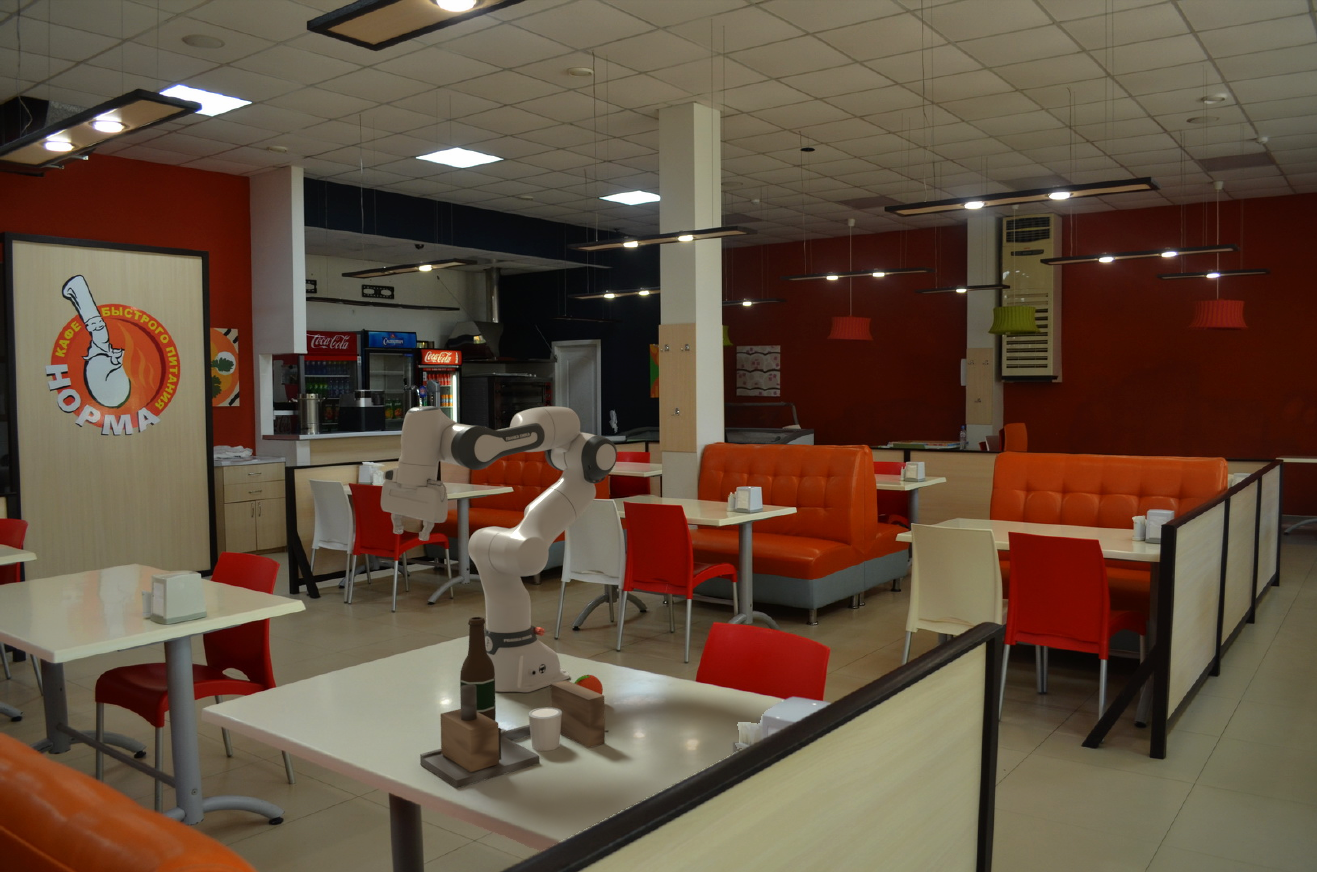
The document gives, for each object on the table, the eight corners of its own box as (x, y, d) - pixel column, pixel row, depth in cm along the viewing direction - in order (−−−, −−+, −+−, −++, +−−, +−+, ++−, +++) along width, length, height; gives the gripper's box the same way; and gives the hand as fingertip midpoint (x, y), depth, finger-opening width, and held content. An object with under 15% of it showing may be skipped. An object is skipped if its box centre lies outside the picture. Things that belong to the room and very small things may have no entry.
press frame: (564, 723, 208) (563, 679, 207) (604, 743, 196) (604, 695, 196) (420, 764, 186) (419, 714, 185) (456, 788, 174) (455, 734, 174)
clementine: (581, 712, 215) (580, 682, 214) (563, 705, 220) (563, 675, 220) (609, 705, 220) (608, 674, 220) (590, 697, 225) (590, 668, 225)
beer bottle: (466, 735, 201) (464, 624, 200) (456, 724, 208) (454, 616, 207) (501, 729, 205) (499, 619, 204) (490, 718, 212) (488, 612, 210)
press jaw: (472, 745, 191) (470, 675, 190) (502, 762, 182) (501, 689, 181) (441, 753, 186) (439, 682, 186) (471, 772, 177) (469, 697, 177)
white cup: (529, 740, 198) (529, 707, 198) (562, 738, 199) (562, 706, 198) (528, 752, 191) (527, 718, 191) (562, 751, 192) (561, 717, 192)
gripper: (457, 482, 211) (451, 543, 211) (401, 471, 224) (395, 529, 224) (434, 481, 206) (428, 544, 206) (378, 471, 219) (372, 530, 219)
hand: (410, 536), depth 215 cm, fingers open, 8 cm apart
